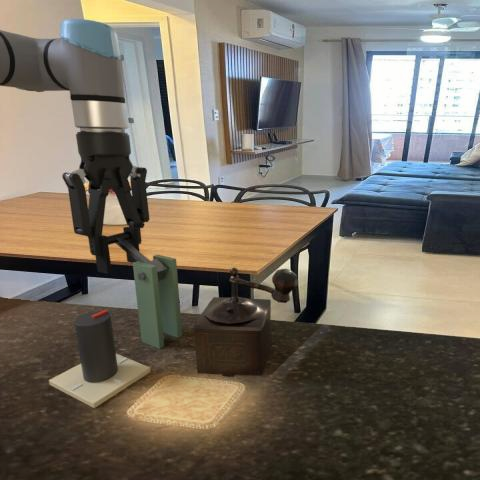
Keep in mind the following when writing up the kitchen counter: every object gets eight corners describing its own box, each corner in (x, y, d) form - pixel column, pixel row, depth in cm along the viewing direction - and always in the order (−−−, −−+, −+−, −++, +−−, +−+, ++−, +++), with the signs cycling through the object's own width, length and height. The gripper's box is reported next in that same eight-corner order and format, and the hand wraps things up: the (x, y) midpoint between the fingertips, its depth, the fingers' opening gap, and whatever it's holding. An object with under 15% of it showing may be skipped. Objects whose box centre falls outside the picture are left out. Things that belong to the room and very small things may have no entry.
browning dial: (96, 386, 53) (87, 326, 50) (76, 376, 55) (66, 318, 52) (124, 369, 57) (117, 313, 54) (105, 361, 59) (97, 306, 56)
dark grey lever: (98, 245, 65) (101, 233, 63) (125, 238, 69) (127, 227, 68) (147, 286, 61) (150, 274, 60) (171, 276, 66) (174, 265, 65)
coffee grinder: (193, 383, 57) (184, 272, 52) (214, 343, 68) (208, 248, 63) (296, 387, 57) (297, 275, 52) (301, 347, 68) (302, 251, 63)
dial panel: (50, 392, 55) (48, 379, 54) (108, 360, 62) (107, 348, 62) (95, 416, 50) (93, 402, 50) (151, 378, 58) (150, 366, 58)
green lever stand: (121, 349, 65) (109, 263, 61) (163, 326, 73) (155, 248, 69) (162, 366, 61) (153, 274, 57) (202, 340, 69) (197, 258, 65)
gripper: (135, 130, 70) (147, 250, 77) (26, 129, 55) (53, 279, 61) (164, 131, 67) (175, 256, 74) (58, 130, 52) (83, 289, 58)
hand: (119, 266), depth 67 cm, fingers closed on dark grey lever, 5 cm apart
